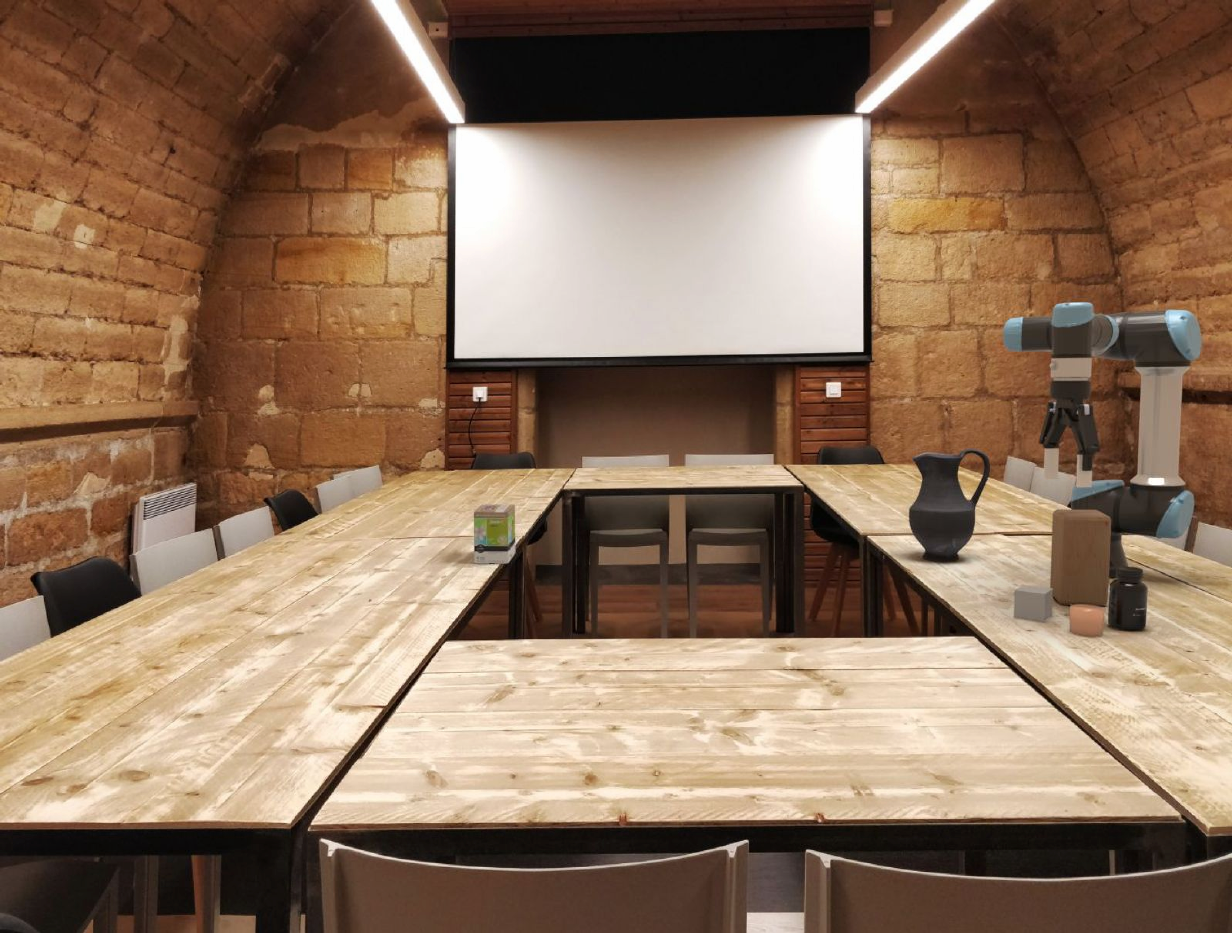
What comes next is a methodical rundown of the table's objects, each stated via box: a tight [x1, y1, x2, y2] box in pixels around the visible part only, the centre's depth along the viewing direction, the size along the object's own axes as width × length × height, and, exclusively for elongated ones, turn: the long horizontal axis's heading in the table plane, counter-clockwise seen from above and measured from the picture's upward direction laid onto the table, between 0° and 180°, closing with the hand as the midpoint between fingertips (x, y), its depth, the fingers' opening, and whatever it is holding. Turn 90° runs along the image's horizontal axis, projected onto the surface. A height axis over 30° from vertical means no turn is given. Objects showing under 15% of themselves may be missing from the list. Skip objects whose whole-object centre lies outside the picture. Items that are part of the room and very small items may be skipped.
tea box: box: [473, 504, 516, 565], centre depth 271 cm, size 15×10×15 cm
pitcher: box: [908, 448, 991, 563], centre depth 261 cm, size 17×21×30 cm
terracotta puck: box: [1069, 604, 1105, 638], centre depth 190 cm, size 6×6×5 cm
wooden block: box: [1049, 508, 1111, 607], centre depth 214 cm, size 10×10×20 cm
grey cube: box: [1013, 584, 1054, 623], centre depth 202 cm, size 6×6×6 cm
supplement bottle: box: [1107, 565, 1149, 632], centre depth 193 cm, size 7×7×12 cm
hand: (1066, 483), depth 199 cm, fingers open, 13 cm apart
